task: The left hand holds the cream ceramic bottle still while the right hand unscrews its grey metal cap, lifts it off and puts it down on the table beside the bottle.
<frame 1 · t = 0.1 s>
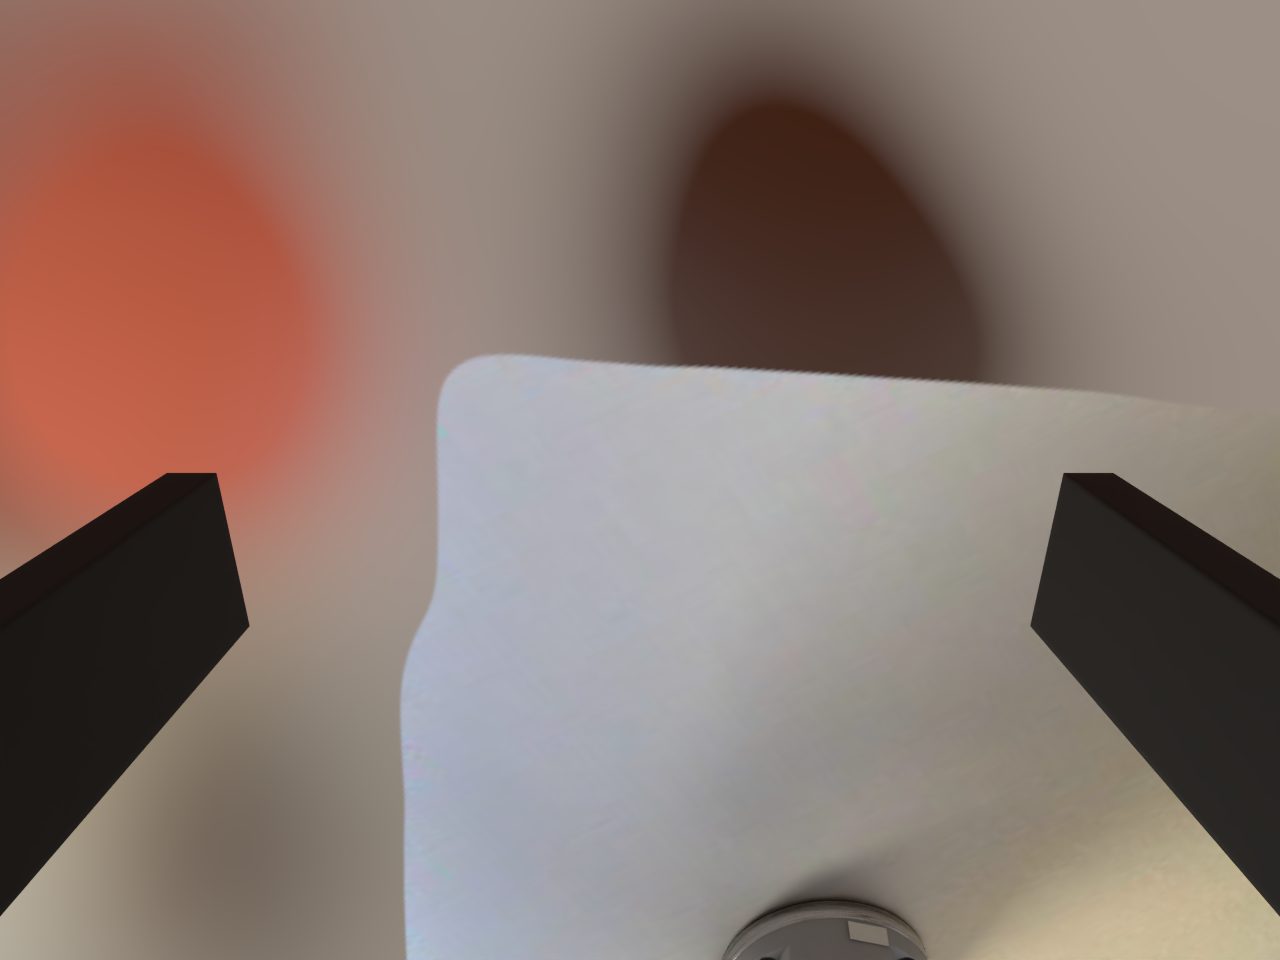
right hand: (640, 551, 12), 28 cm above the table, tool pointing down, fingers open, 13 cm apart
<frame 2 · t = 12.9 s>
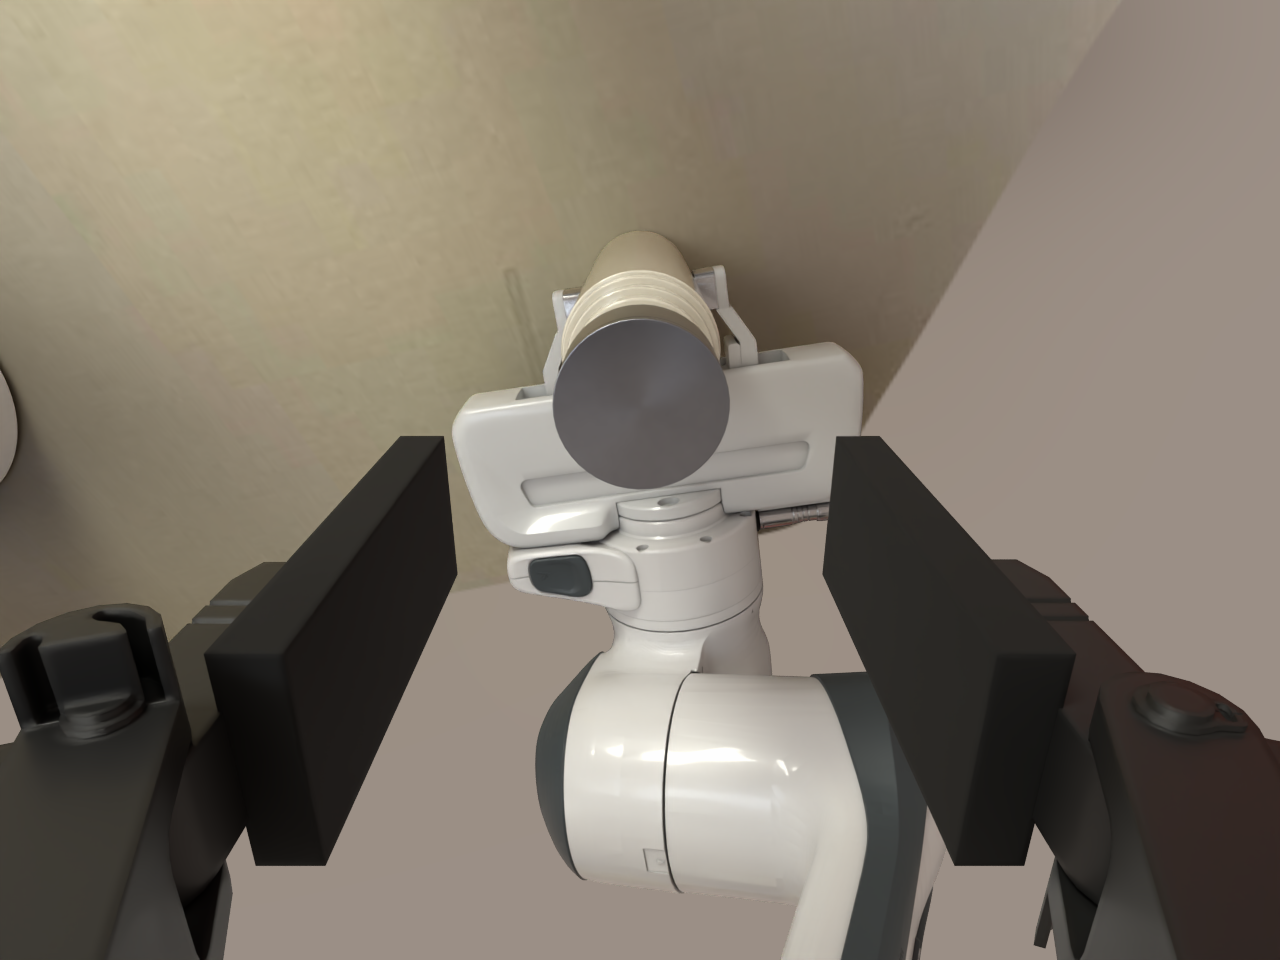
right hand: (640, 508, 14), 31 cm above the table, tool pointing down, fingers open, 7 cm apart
left hand: (636, 278, 37), fingers closed on bottle, 5 cm apart
bottle: (640, 281, 42), on the table, touching left hand
cap: (641, 404, 20), point 24 cm above the table, screwed on, not yet turned
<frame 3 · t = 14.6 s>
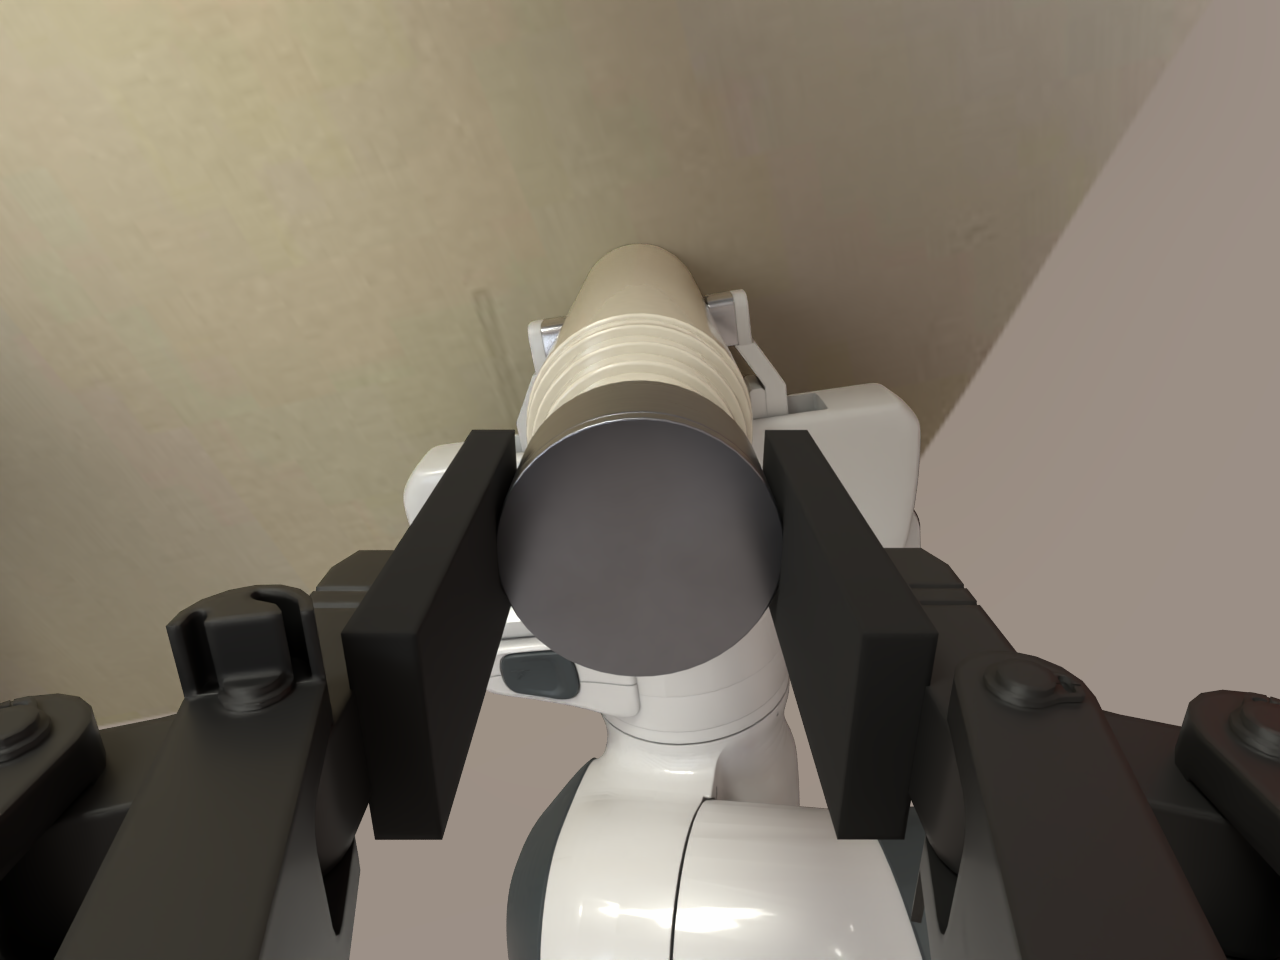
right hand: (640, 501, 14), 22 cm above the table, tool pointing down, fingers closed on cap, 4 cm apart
left hand: (634, 307, 29), fingers closed on bottle, 5 cm apart
bottle: (639, 305, 35), on the table, touching left hand
cap: (639, 548, 12), point 24 cm above the table, screwed on, not yet turned, touching right hand
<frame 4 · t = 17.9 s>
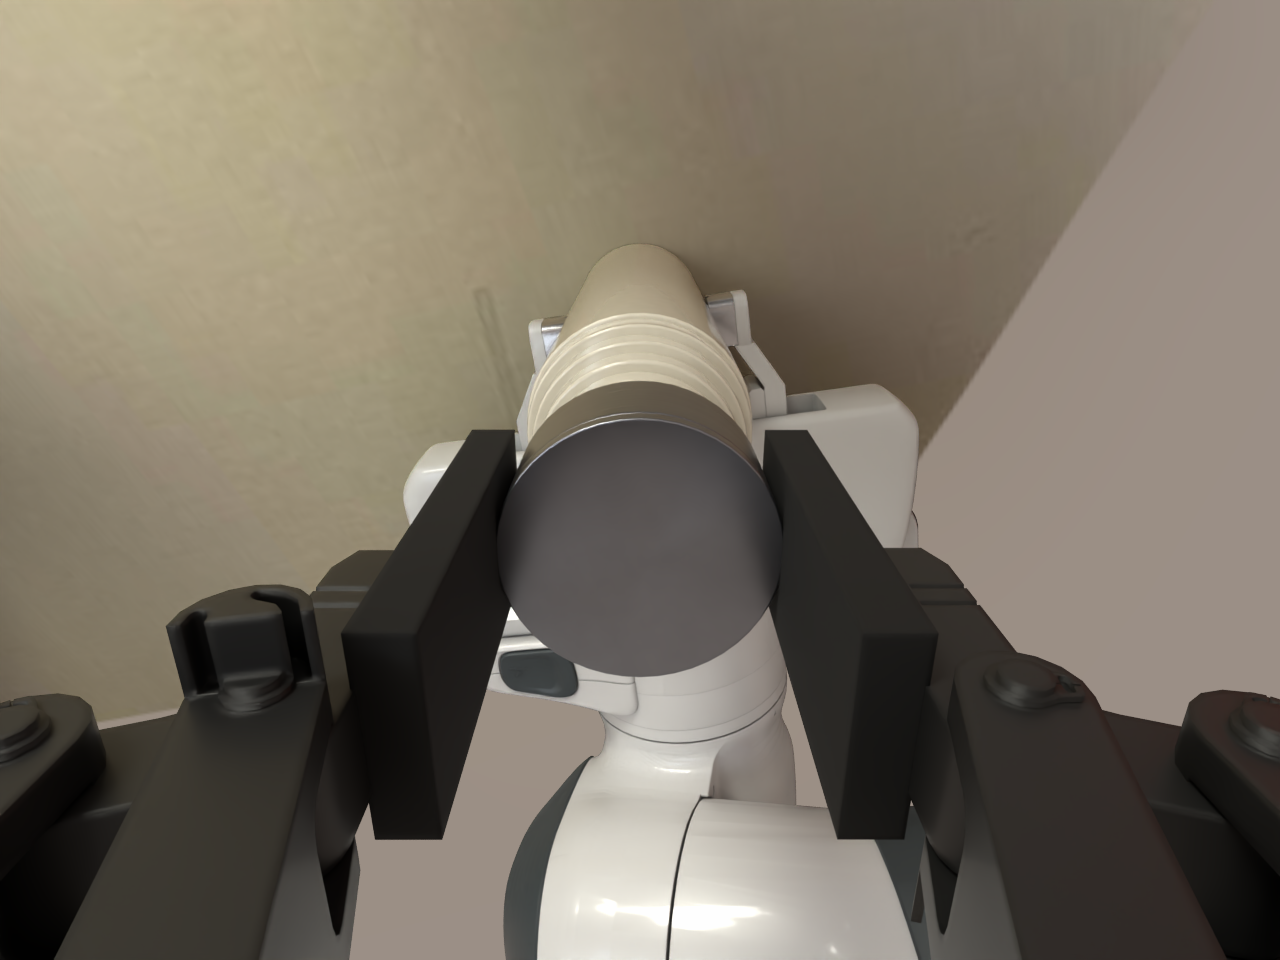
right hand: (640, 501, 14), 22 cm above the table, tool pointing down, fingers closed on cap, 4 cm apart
left hand: (635, 306, 29), fingers closed on bottle, 5 cm apart
bottle: (639, 304, 35), on the table, touching left hand
cap: (639, 548, 12), point 24 cm above the table, turned 85° so far, risen 0.1 cm, still on its thread, touching right hand
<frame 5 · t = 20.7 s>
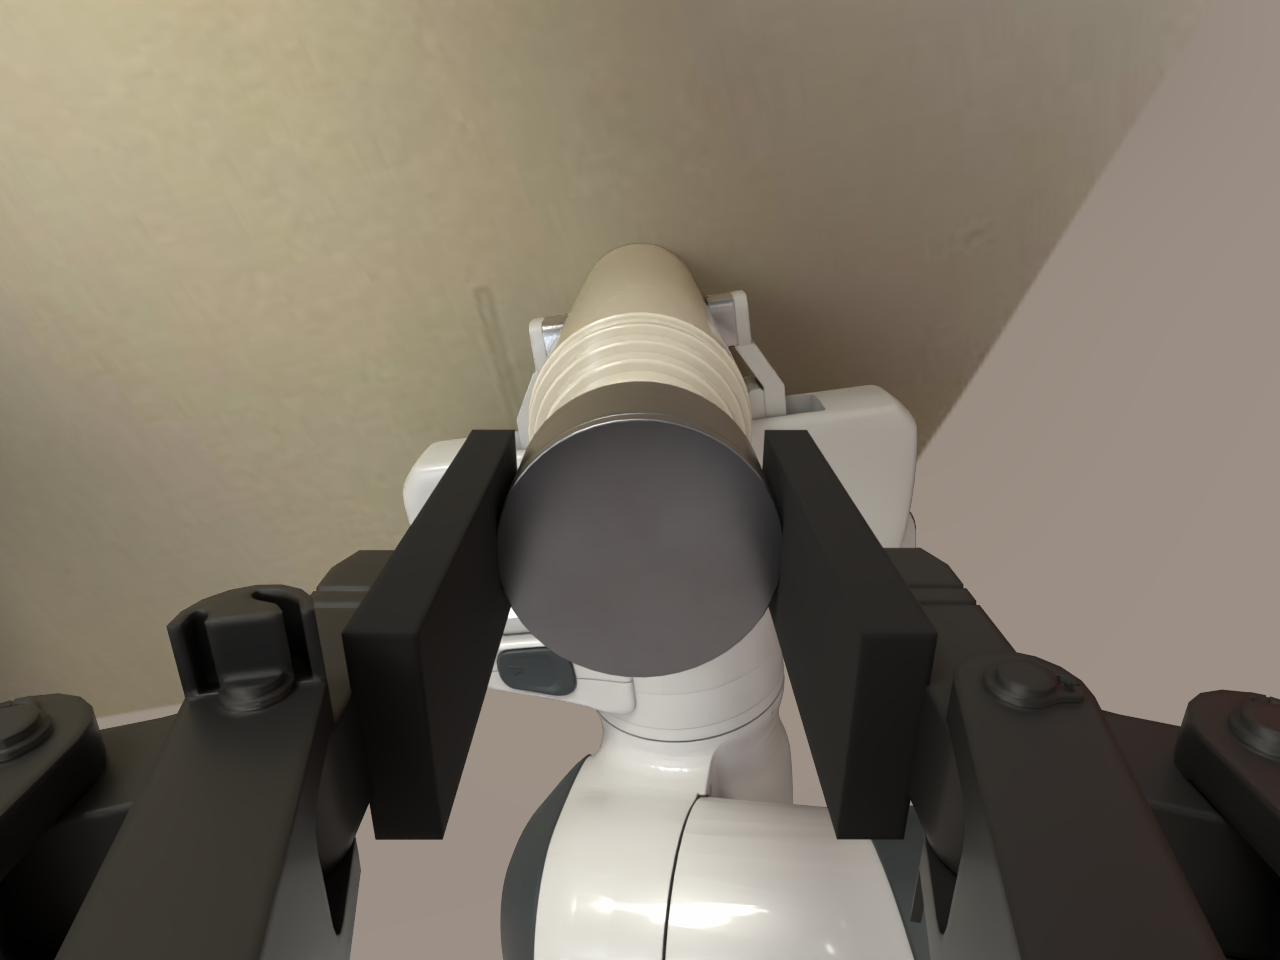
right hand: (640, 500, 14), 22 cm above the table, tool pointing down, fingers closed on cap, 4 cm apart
left hand: (635, 306, 29), fingers closed on bottle, 5 cm apart
bottle: (639, 304, 35), on the table, touching left hand
cap: (639, 548, 12), point 24 cm above the table, turned 170° so far, risen 0.2 cm, still on its thread, touching right hand
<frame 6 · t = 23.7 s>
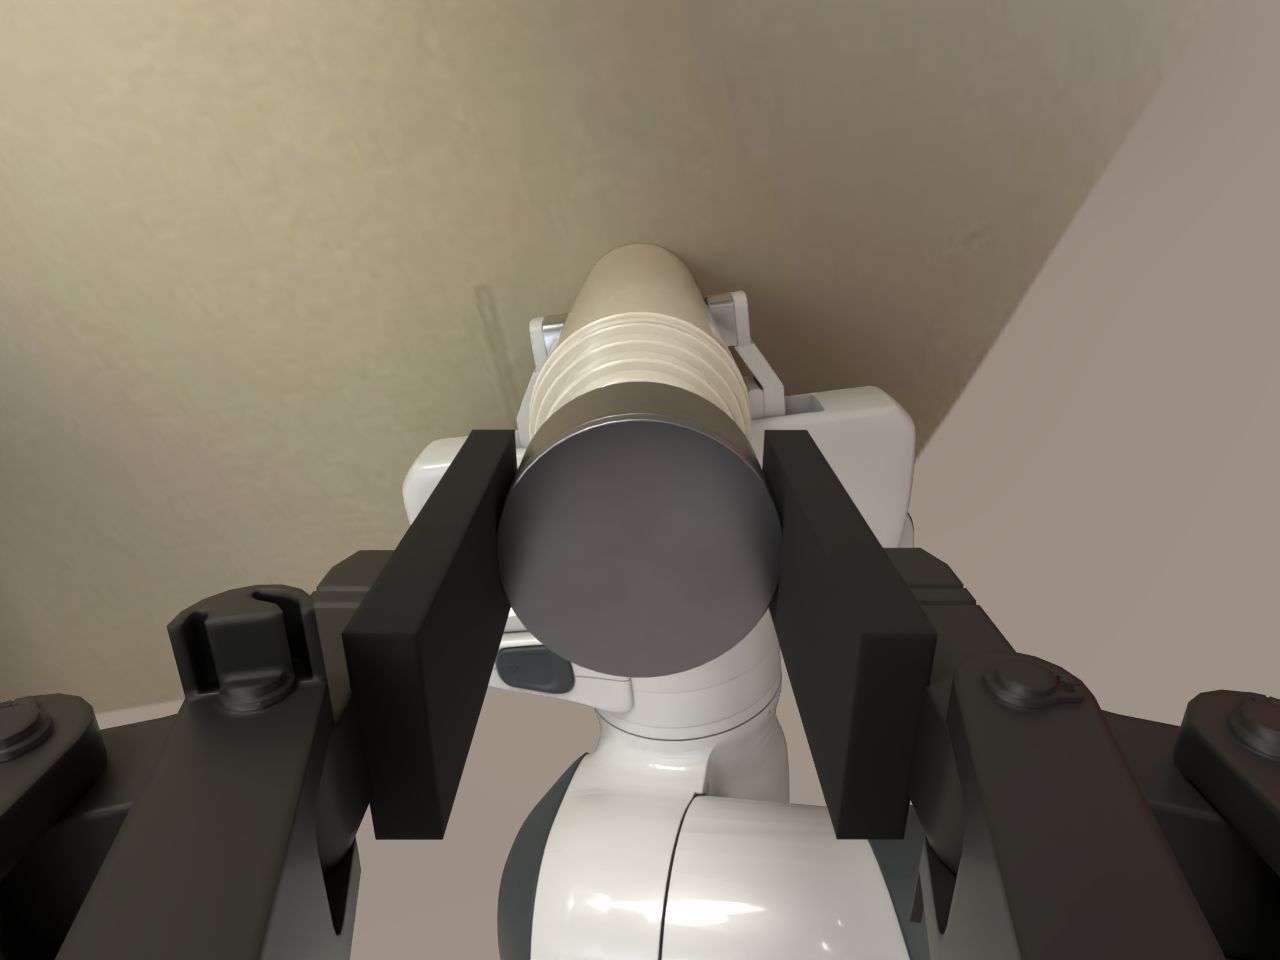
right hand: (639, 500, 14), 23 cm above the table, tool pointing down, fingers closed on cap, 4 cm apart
left hand: (635, 306, 29), fingers closed on bottle, 5 cm apart
bottle: (640, 304, 35), on the table, touching left hand
cap: (639, 549, 12), point 25 cm above the table, turned 255° so far, risen 0.3 cm, still on its thread, touching right hand
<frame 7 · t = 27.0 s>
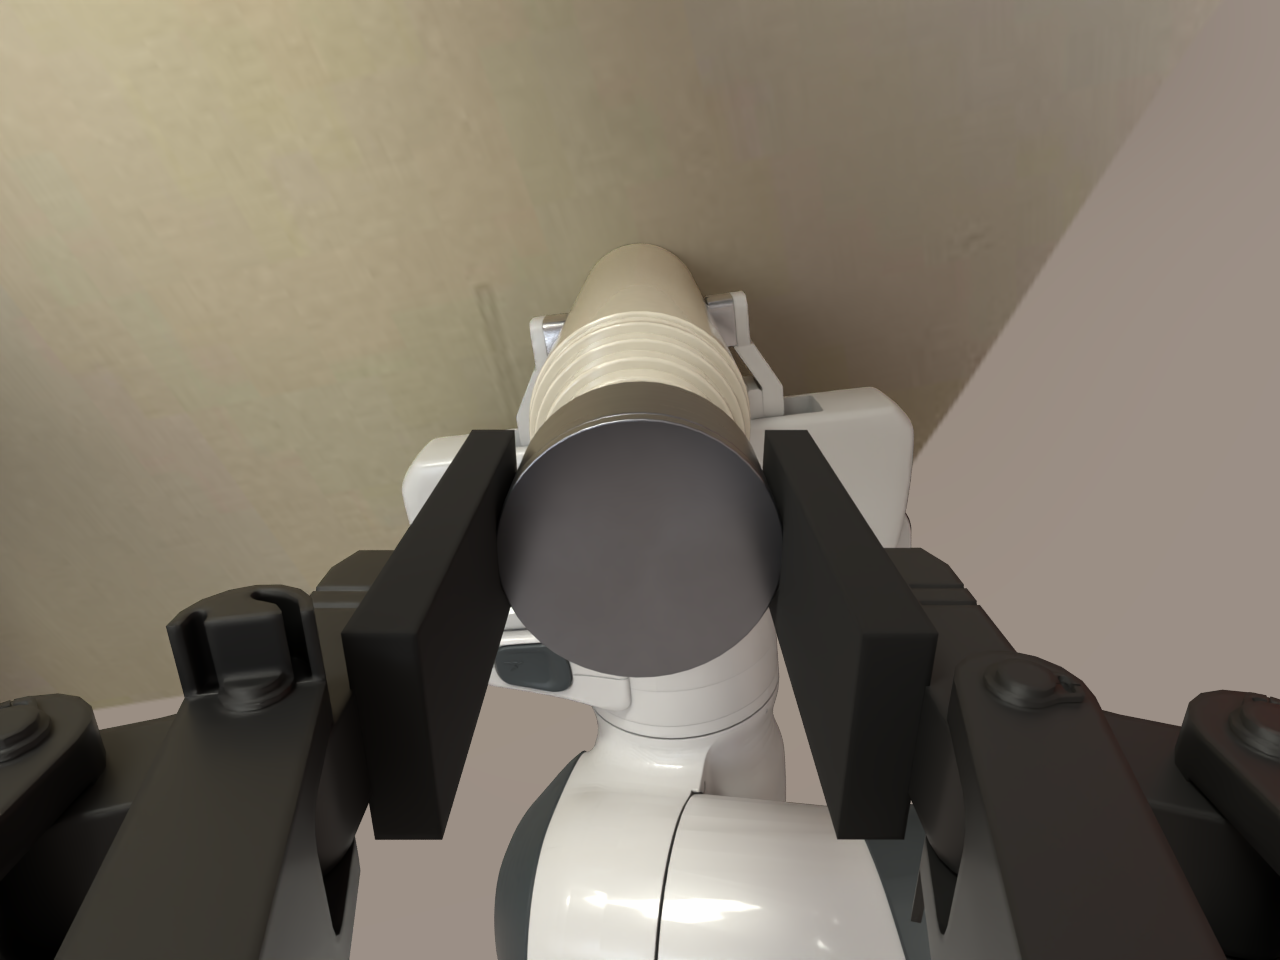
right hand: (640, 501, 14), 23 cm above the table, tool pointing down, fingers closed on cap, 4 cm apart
left hand: (635, 305, 29), fingers closed on bottle, 5 cm apart
bottle: (640, 304, 35), on the table, touching left hand
cap: (639, 549, 12), point 25 cm above the table, turned 340° so far, risen 0.4 cm, still on its thread, touching right hand
when the right hand's fingers open (1 cm above the table, at t = 36.7 s): cap drops 1 cm, point 2 cm above the table.
when the left hand's fingers open (6 cm above the table, at t = 38.0 s): bottle stays where it is, on the table.
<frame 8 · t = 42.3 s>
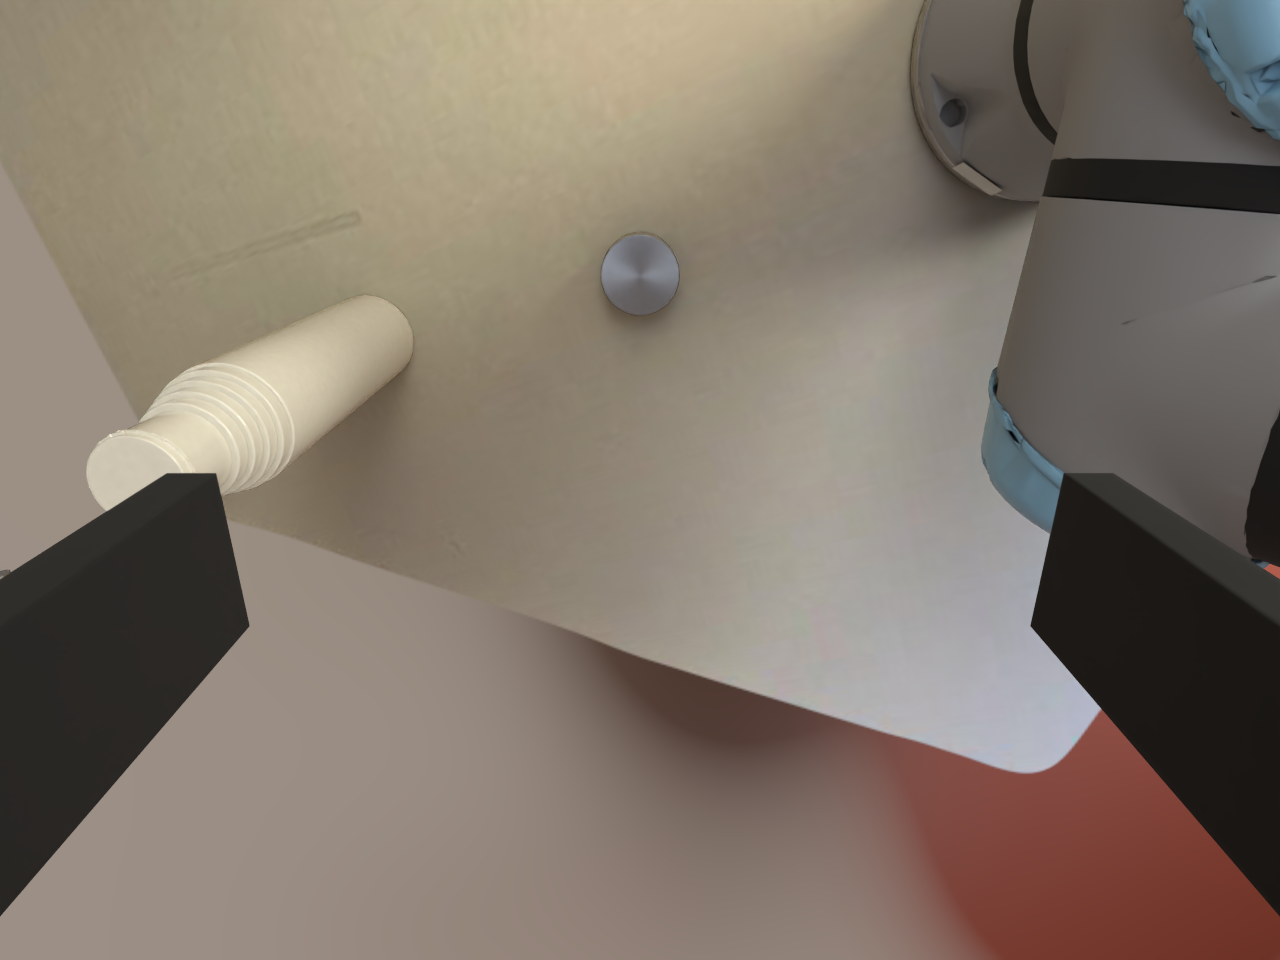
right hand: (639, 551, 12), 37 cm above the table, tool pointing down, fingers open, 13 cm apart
bottle: (371, 338, 48), on the table
cap: (640, 275, 45), point 2 cm above the table, off its thread
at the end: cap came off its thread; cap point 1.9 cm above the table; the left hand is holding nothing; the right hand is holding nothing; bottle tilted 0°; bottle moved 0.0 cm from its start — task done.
